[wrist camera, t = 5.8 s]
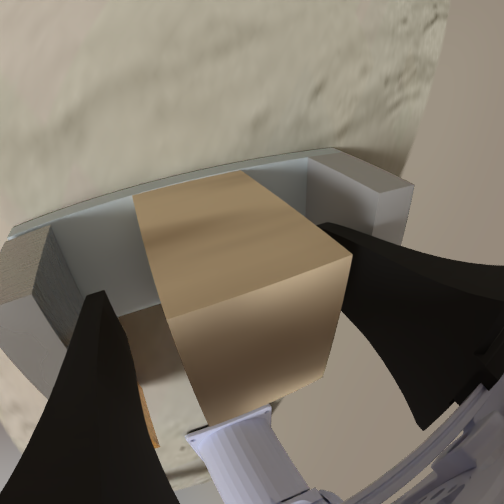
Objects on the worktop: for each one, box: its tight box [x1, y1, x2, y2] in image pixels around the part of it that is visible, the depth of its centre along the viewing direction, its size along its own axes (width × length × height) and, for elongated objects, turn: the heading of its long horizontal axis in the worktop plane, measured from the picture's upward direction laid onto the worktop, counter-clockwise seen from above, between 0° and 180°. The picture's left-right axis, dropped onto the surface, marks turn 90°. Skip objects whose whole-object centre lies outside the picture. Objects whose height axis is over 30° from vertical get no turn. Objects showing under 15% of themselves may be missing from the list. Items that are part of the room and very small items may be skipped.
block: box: [132, 170, 353, 427], centre depth 9 cm, size 5×4×6 cm
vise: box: [7, 148, 414, 317], centre depth 10 cm, size 5×14×5 cm, turn 92°
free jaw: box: [0, 225, 160, 448], centre depth 10 cm, size 12×2×4 cm, turn 2°
